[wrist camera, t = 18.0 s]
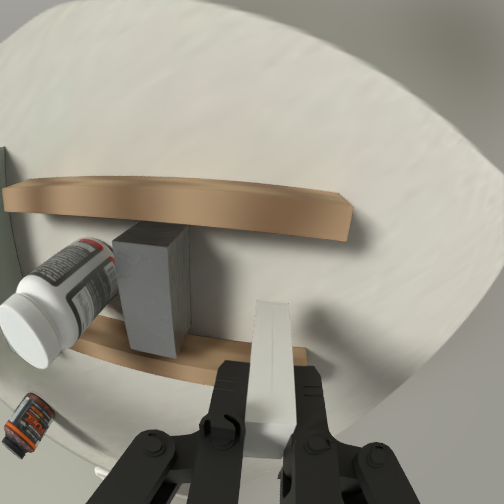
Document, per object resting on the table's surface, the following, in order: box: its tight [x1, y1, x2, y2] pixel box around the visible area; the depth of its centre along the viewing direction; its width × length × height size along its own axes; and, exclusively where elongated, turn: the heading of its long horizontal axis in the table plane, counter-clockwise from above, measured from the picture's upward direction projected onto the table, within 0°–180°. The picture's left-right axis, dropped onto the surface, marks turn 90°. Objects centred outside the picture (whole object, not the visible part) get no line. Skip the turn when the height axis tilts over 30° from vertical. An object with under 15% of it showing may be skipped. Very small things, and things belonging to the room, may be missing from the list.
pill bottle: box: [0, 237, 119, 369], centre depth 13 cm, size 5×5×8 cm
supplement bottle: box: [2, 393, 54, 459], centre depth 24 cm, size 6×6×11 cm
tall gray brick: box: [112, 220, 191, 359], centre depth 15 cm, size 3×7×4 cm, turn 175°
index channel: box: [2, 176, 353, 386], centre depth 16 cm, size 21×12×3 cm, turn 85°
